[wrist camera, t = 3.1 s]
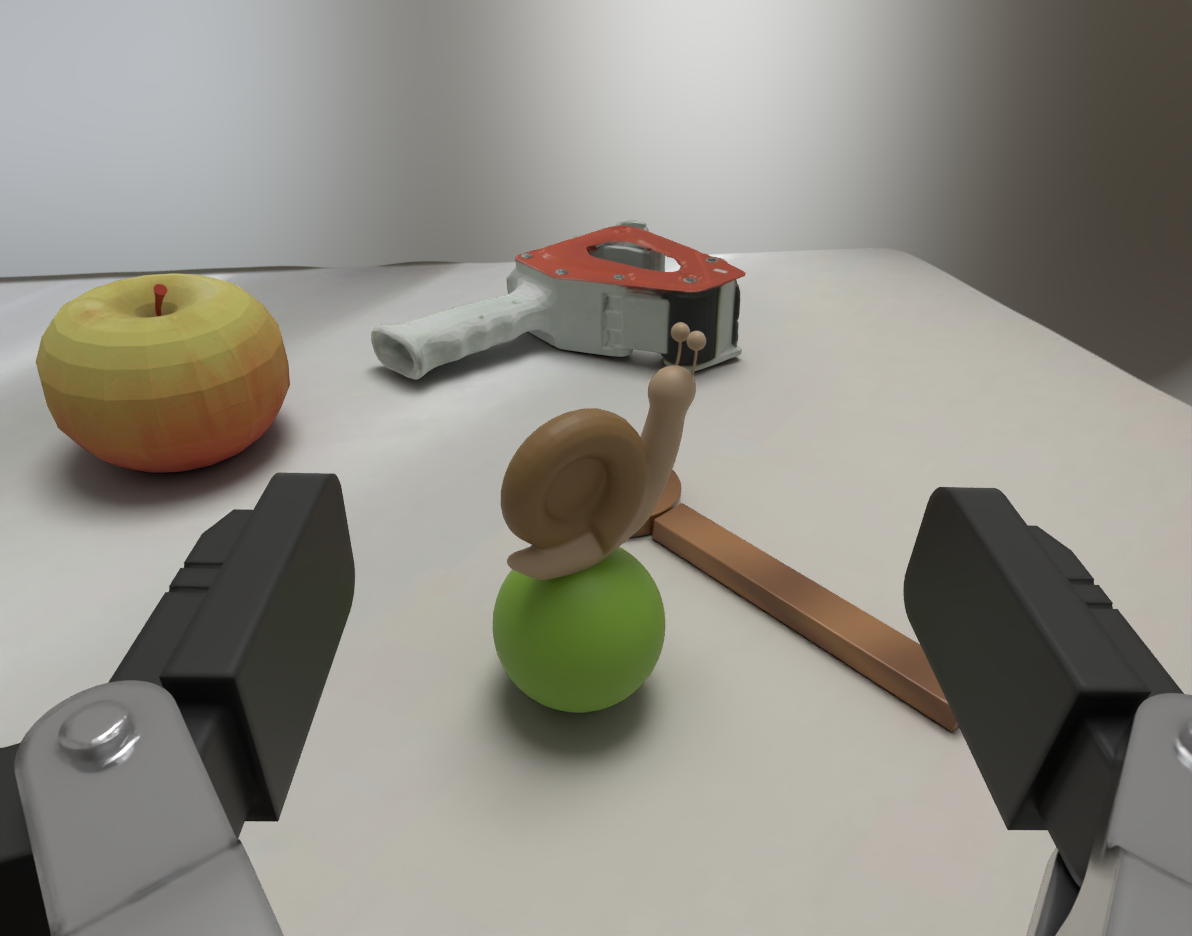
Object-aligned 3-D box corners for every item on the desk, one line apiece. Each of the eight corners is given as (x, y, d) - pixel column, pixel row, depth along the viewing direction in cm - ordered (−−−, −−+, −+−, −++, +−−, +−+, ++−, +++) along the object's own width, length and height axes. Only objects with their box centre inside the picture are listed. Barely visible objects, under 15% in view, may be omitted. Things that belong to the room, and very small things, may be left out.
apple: (254, 510, 34) (212, 335, 30) (24, 499, 34) (-52, 322, 30) (326, 398, 43) (301, 247, 38) (139, 389, 43) (93, 237, 38)
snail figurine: (713, 685, 27) (768, 362, 21) (554, 780, 24) (560, 433, 18) (615, 593, 31) (635, 293, 24) (465, 665, 28) (441, 341, 21)
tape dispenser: (367, 406, 45) (734, 432, 42) (346, 318, 42) (741, 338, 39) (465, 279, 59) (747, 290, 56) (455, 205, 56) (753, 213, 52)
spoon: (999, 677, 28) (1008, 656, 28) (926, 763, 25) (935, 742, 25) (601, 444, 40) (602, 427, 39) (518, 484, 37) (517, 465, 36)
